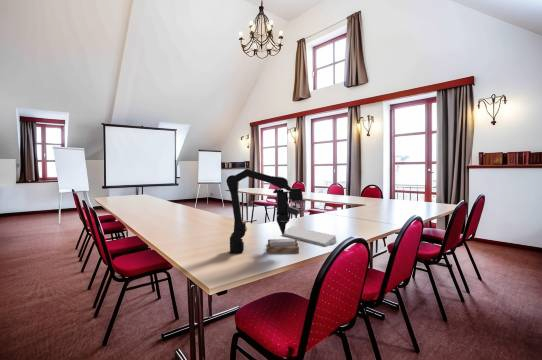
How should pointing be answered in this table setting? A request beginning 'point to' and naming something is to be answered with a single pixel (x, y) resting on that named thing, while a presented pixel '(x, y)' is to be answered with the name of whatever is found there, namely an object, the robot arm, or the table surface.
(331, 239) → the decorative molding
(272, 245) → the clay strip
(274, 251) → the drying rack
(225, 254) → the table surface
